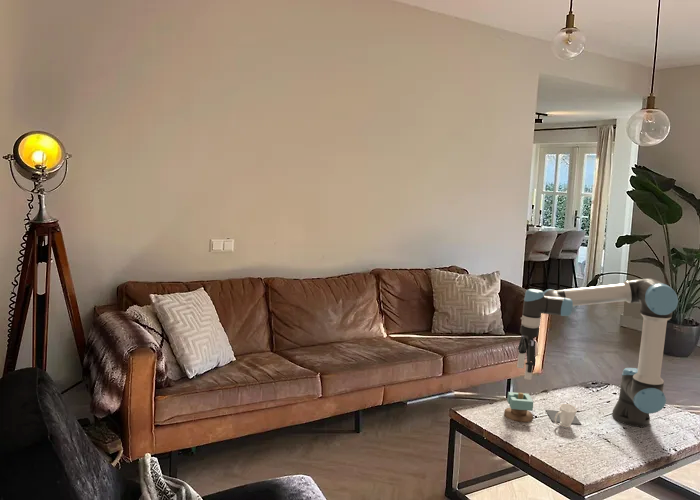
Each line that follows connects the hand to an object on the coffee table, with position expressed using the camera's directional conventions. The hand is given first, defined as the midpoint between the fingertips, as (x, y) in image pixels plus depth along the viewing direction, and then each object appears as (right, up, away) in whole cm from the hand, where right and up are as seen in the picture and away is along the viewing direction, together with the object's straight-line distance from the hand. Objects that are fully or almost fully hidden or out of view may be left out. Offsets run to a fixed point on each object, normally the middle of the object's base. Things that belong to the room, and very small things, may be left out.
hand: (523, 373), depth 252 cm
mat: (+19, -21, +6) cm, 29 cm away
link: (-1, -15, +3) cm, 15 cm away
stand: (-1, -20, +4) cm, 20 cm away
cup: (+16, -22, -2) cm, 27 cm away
